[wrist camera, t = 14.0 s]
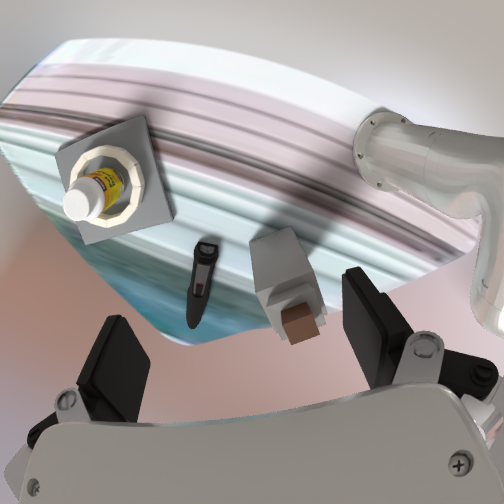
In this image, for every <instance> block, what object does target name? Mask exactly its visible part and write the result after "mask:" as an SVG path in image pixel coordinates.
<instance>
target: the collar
mask: <svg viewBox="0 0 504 504" xmlns="http://www.w3.org/2000/svg"><path fill="white" fill-rule="evenodd" d="M54 155H55V159H56V162H57V166H58V169H59V173H60V176H61V179H62V182H63V186H64V189H65V192H67V191H68V189H69V187H70V185H71V184H72V183H73V182H74V181H75V180H76V179H78V178H80V177H82V176H84V175H87V174H89V173H91V172H93V171H96V170H98V169H100V168H104V167H111V168H114V169H116V170H117V171H118V172H119V173H120V174H121V175H122V177H123V180H124V192H123V194H122V196H121V198H120V199H119V200H118V201H117V202H115V203H114V204H113V205H111V206H110V207H109V208H108V209H106V210H105V211H104V212H102V213H101V214H100V215H99V216H98V217H96V218H95V219H93V220H88V221H86V220H81V221H76V223H77V225H78V228H79V230H80V233H81V235H82V238H83V240H84V243H85V245H88V244H91V243H95V242H98V241H102V240H105V239H108V238H112V237H116V236H119V235H123V234H126V233H130V232H133V231H137V230H141V229H145V228H148V227H152V226H156V225H160V224H164V223H168V222H171V221H173V219H174V218H173V215H172V212H171V209H170V206H169V202H168V199H167V196H166V192H165V189H164V186H163V182H162V179H161V175H160V172H159V168H158V164H157V161H156V157H155V153H154V150H153V146H152V142H151V138H150V134H149V130H148V126H147V122H146V118H145V115H141V116H138V117H135V118H133V119H130V120H127V121H125V122H122V123H120V124H117V125H115V126H112V127H110V128H107V129H105V130H103V131H100V132H98V133H96V134H94V135H91V136H89V137H87V138H85V139H83V140H80V141H78V142H76V143H74V144H72V145H70V146H68V147H66V148H64V149H62V150H60V151H58V152H56V153H55V154H54Z"/></svg>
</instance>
